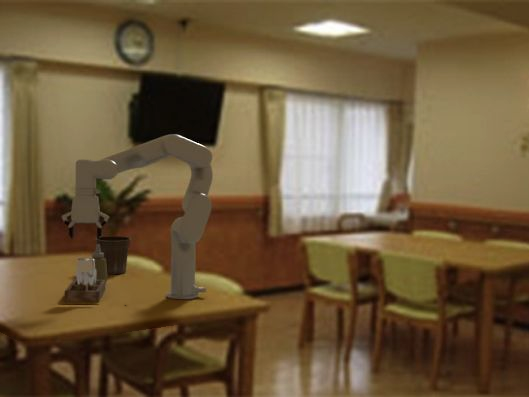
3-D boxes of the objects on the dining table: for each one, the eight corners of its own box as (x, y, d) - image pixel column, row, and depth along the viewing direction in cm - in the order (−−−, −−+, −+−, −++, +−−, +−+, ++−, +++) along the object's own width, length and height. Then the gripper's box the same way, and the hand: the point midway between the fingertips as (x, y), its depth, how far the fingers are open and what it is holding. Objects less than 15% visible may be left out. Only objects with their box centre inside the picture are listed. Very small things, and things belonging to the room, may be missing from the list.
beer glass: (72, 299, 260) (72, 259, 258) (81, 295, 266) (82, 257, 265) (89, 301, 258) (89, 261, 257) (97, 297, 265) (98, 258, 264)
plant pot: (122, 276, 314) (123, 241, 313) (88, 274, 317) (89, 239, 316) (135, 270, 330) (135, 237, 329) (102, 268, 333) (103, 235, 332)
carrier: (105, 292, 280) (105, 279, 279) (98, 304, 257) (99, 291, 256) (73, 291, 278) (73, 279, 278) (64, 304, 255) (64, 291, 255)
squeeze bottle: (97, 284, 294) (97, 242, 293) (111, 287, 290) (112, 244, 289) (83, 287, 287) (83, 244, 286) (97, 290, 283) (98, 246, 282)
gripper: (110, 192, 264) (109, 237, 265) (63, 191, 262) (63, 236, 263) (108, 193, 257) (107, 239, 258) (60, 192, 254) (59, 239, 256)
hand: (85, 238), depth 260 cm, fingers open, 9 cm apart
